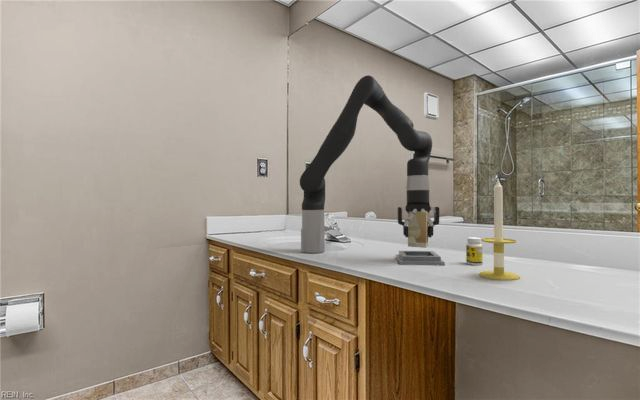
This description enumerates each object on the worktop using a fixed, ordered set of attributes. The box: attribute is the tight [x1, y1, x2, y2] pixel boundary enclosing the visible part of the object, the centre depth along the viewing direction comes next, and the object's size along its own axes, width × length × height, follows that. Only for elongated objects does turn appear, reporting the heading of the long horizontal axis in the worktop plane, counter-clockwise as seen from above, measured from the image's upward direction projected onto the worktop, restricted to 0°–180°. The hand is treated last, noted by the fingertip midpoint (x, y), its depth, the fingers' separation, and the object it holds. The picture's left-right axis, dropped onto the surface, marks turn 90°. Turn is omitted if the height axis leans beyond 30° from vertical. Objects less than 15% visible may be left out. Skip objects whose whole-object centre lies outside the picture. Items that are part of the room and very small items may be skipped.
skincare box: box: [407, 211, 430, 249], centre depth 115 cm, size 6×4×12 cm
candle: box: [478, 179, 521, 281], centre depth 92 cm, size 10×10×27 cm
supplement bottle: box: [465, 236, 483, 266], centre depth 109 cm, size 5×5×8 cm
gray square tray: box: [395, 250, 446, 266], centre depth 115 cm, size 14×14×2 cm
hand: (418, 237), depth 115 cm, fingers closed on skincare box, 7 cm apart
